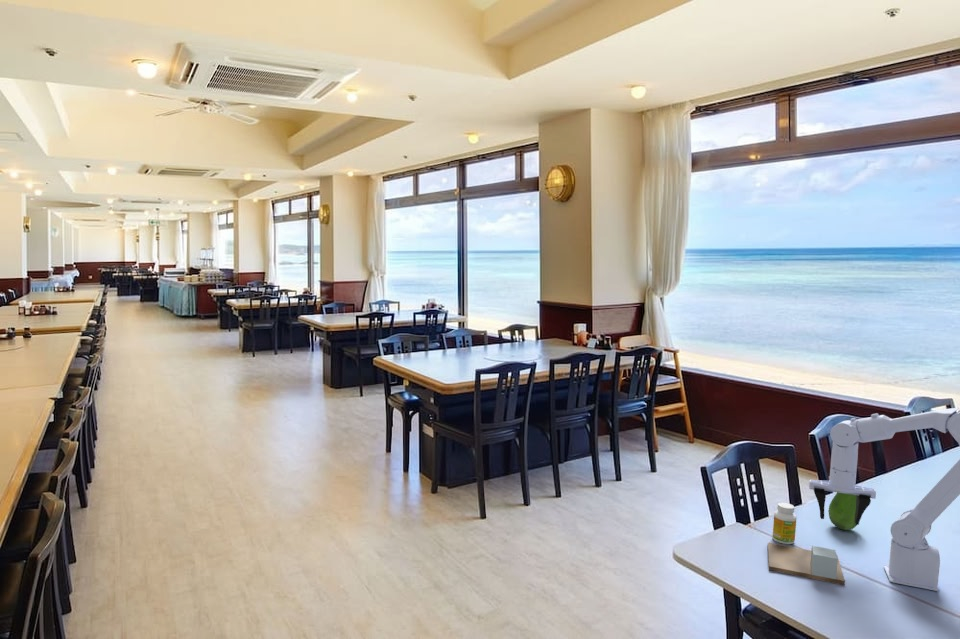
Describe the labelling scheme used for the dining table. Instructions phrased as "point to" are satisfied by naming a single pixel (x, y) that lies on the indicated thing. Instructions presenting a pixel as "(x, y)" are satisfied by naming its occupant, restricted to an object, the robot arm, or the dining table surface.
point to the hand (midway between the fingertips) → (839, 520)
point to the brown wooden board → (797, 563)
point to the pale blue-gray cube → (823, 562)
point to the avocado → (843, 511)
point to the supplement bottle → (784, 524)
